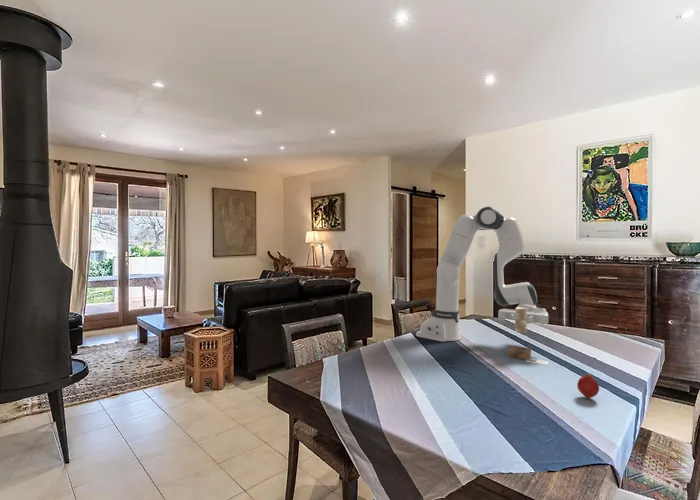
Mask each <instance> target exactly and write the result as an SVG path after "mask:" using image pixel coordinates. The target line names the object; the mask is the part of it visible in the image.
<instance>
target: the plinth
mask: <svg viewBox="0 0 700 500" xmlns="http://www.w3.org/2000/svg"><path fill="white" fill-rule="evenodd" d="M531 357H532V348H531V347H525V346H524V347H523V346H516V345H515V346H514V345H511V346H510V347H509V348H508V358H511V359H519V360H525V361H526V360H529V359H531Z"/></svg>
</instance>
